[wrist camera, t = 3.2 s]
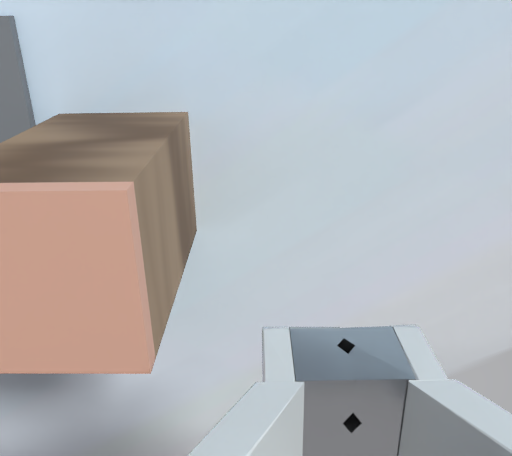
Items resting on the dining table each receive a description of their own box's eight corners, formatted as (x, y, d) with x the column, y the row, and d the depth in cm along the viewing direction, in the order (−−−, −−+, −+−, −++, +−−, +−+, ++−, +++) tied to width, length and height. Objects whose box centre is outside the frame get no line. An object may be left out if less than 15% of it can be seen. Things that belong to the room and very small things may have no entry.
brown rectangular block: (187, 112, 19) (126, 190, 11) (196, 230, 21) (150, 373, 13) (59, 113, 19) (-100, 192, 11) (80, 231, 21) (-40, 373, 13)
